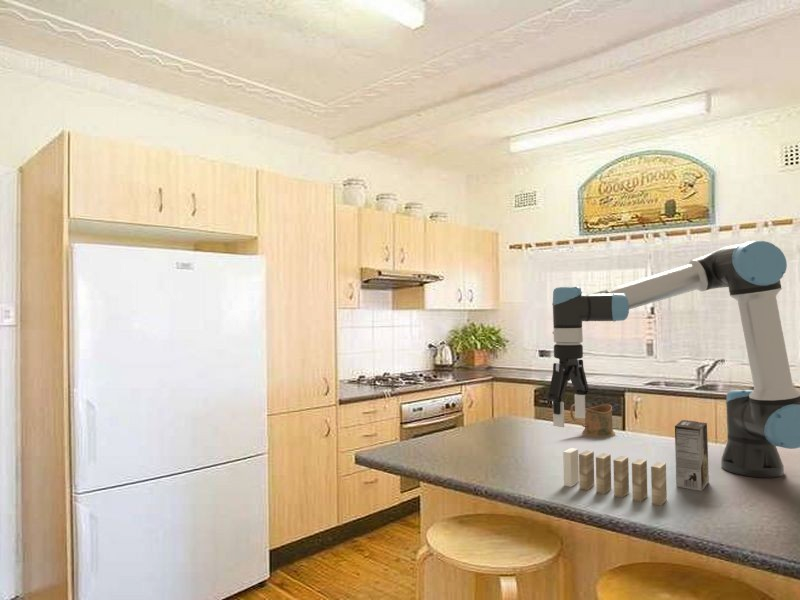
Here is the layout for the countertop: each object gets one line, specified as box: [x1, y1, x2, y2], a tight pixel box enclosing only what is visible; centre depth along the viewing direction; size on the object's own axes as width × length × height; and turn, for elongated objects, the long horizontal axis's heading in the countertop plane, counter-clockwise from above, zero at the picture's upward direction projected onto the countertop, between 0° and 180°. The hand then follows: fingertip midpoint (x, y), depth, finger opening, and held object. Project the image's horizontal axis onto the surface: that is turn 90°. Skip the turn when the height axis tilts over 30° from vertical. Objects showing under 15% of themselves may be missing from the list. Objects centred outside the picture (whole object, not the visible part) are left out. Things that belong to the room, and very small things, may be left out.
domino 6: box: [650, 461, 668, 507], centre depth 133 cm, size 2×5×9 cm, turn 139°
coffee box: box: [674, 419, 710, 492], centre depth 146 cm, size 9×6×16 cm
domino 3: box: [595, 452, 612, 495], centre depth 142 cm, size 2×5×9 cm, turn 139°
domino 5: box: [631, 458, 648, 502], centre depth 136 cm, size 2×5×9 cm, turn 139°
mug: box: [569, 403, 616, 438], centre depth 204 cm, size 12×18×12 cm, turn 107°
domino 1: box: [562, 447, 579, 488], centre depth 148 cm, size 2×5×9 cm, turn 139°
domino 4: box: [613, 455, 630, 498], centre depth 139 cm, size 2×5×9 cm, turn 139°
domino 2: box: [578, 450, 595, 491], centre depth 145 cm, size 2×5×9 cm, turn 139°
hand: (569, 422), depth 148 cm, fingers open, 13 cm apart
